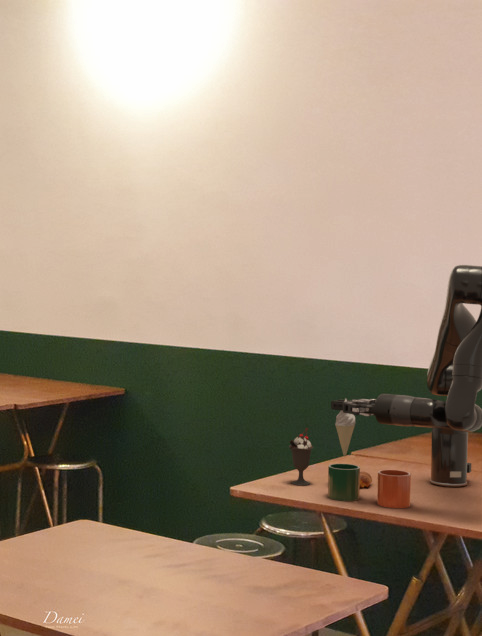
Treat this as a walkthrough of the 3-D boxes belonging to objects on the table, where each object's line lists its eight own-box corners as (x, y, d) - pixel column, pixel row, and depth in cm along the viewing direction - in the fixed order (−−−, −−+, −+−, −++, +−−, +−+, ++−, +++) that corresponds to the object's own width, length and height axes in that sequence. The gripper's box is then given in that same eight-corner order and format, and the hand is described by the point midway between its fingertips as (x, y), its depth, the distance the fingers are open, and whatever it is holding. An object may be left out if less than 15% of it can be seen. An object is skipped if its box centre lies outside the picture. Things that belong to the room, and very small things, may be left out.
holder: (382, 499, 278) (383, 468, 277) (413, 503, 274) (414, 471, 273) (373, 505, 271) (374, 473, 271) (405, 509, 267) (405, 477, 267)
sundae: (315, 482, 298) (316, 427, 297) (310, 486, 292) (311, 431, 291) (291, 479, 301) (292, 426, 300) (285, 484, 295) (286, 429, 294)
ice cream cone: (355, 458, 276) (356, 399, 276) (335, 457, 277) (335, 398, 277) (354, 454, 281) (354, 396, 280) (334, 454, 282) (334, 396, 282)
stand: (333, 492, 286) (334, 462, 285) (363, 496, 282) (363, 465, 281) (323, 498, 279) (324, 467, 279) (353, 502, 275) (354, 470, 274)
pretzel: (362, 480, 301) (362, 466, 301) (380, 488, 290) (380, 474, 290) (320, 481, 299) (321, 468, 299) (337, 490, 288) (338, 476, 288)
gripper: (410, 392, 274) (347, 387, 286) (385, 397, 264) (321, 392, 275) (410, 422, 274) (347, 415, 286) (385, 428, 264) (321, 421, 276)
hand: (334, 404), depth 281 cm, fingers closed on ice cream cone, 2 cm apart
